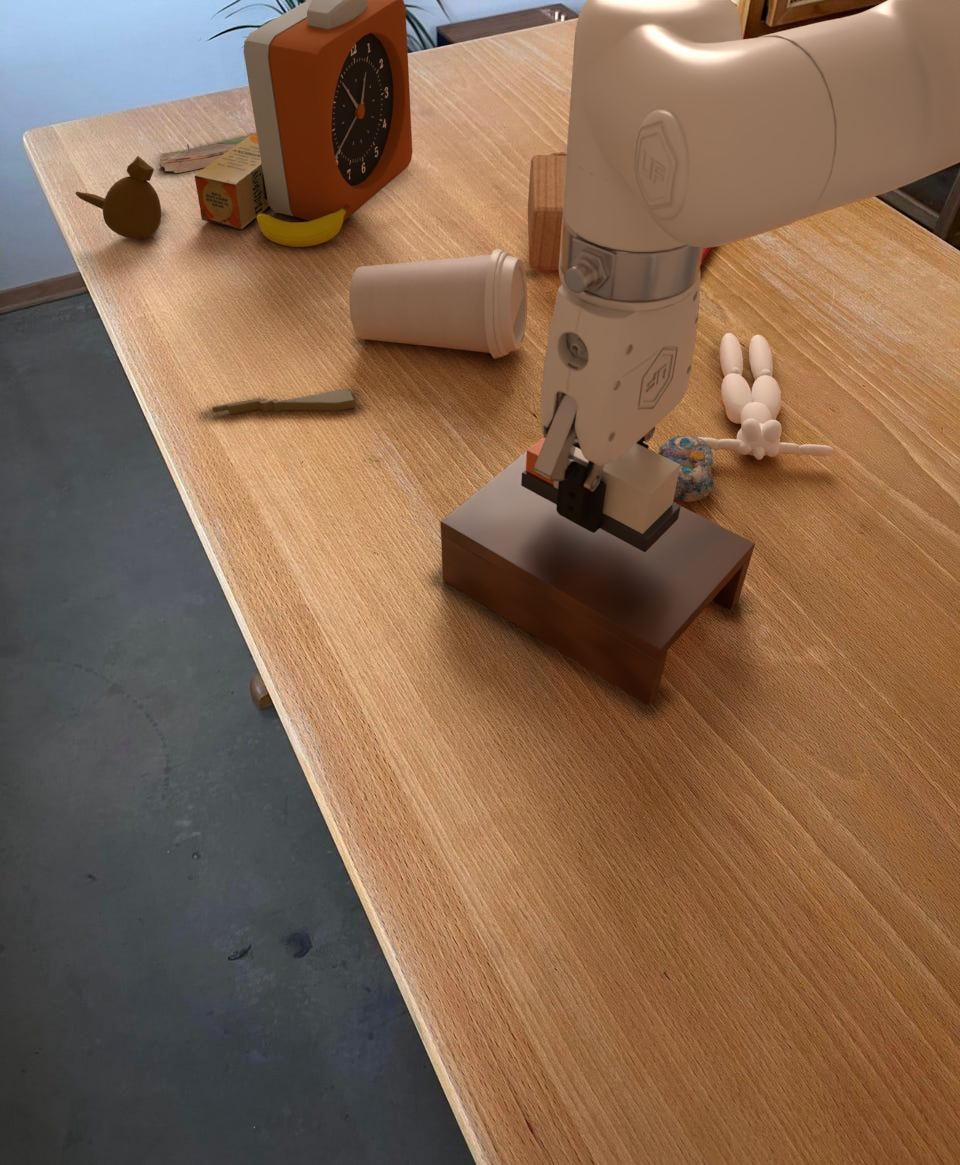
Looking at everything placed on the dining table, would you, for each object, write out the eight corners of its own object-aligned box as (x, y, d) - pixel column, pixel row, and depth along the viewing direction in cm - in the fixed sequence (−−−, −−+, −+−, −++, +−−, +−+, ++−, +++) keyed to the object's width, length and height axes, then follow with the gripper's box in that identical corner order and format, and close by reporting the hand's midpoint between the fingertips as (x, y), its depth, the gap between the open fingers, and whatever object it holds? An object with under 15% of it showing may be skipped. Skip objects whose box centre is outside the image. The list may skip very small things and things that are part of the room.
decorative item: (533, 209, 98) (530, 126, 111) (528, 271, 102) (526, 184, 116) (600, 212, 98) (589, 128, 111) (593, 274, 102) (583, 186, 116)
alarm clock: (335, 233, 108) (311, 26, 93) (267, 215, 111) (233, 12, 96) (415, 163, 119) (406, -31, 104) (352, 149, 122) (334, -42, 107)
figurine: (181, 230, 108) (156, 216, 112) (158, 154, 103) (133, 142, 107) (113, 254, 105) (91, 239, 109) (86, 177, 100) (63, 164, 103)
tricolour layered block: (678, 519, 66) (689, 466, 62) (645, 553, 64) (654, 500, 60) (555, 456, 70) (559, 403, 67) (520, 485, 68) (523, 432, 64)
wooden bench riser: (738, 601, 72) (755, 543, 68) (648, 706, 66) (660, 649, 62) (539, 495, 80) (543, 436, 76) (442, 579, 74) (439, 521, 69)
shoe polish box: (257, 176, 117) (202, 219, 109) (251, 133, 114) (194, 175, 106) (294, 184, 116) (241, 229, 108) (290, 141, 113) (235, 184, 105)
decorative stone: (716, 504, 77) (660, 473, 76) (688, 525, 81) (635, 496, 80) (736, 440, 80) (683, 409, 79) (709, 464, 84) (658, 435, 83)
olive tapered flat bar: (353, 396, 89) (353, 387, 88) (355, 410, 88) (354, 401, 87) (213, 407, 88) (211, 399, 87) (212, 422, 86) (210, 413, 86)
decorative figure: (804, 348, 94) (831, 476, 82) (675, 340, 95) (682, 466, 83) (814, 316, 91) (842, 444, 79) (680, 308, 92) (689, 434, 80)
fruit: (349, 249, 106) (352, 211, 108) (344, 236, 104) (348, 197, 106) (255, 252, 107) (260, 214, 109) (249, 239, 105) (254, 200, 107)
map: (327, 140, 125) (327, 133, 124) (169, 176, 118) (167, 168, 117) (310, 122, 128) (310, 115, 127) (154, 156, 120) (152, 149, 119)
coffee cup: (348, 365, 91) (509, 369, 88) (338, 256, 87) (507, 255, 84) (381, 344, 99) (529, 346, 96) (374, 243, 95) (528, 242, 92)
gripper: (598, 345, 47) (571, 601, 61) (769, 212, 56) (712, 462, 69) (476, 290, 50) (475, 545, 64) (655, 172, 59) (622, 418, 73)
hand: (599, 499), depth 67 cm, fingers closed on tricolour layered block, 4 cm apart
